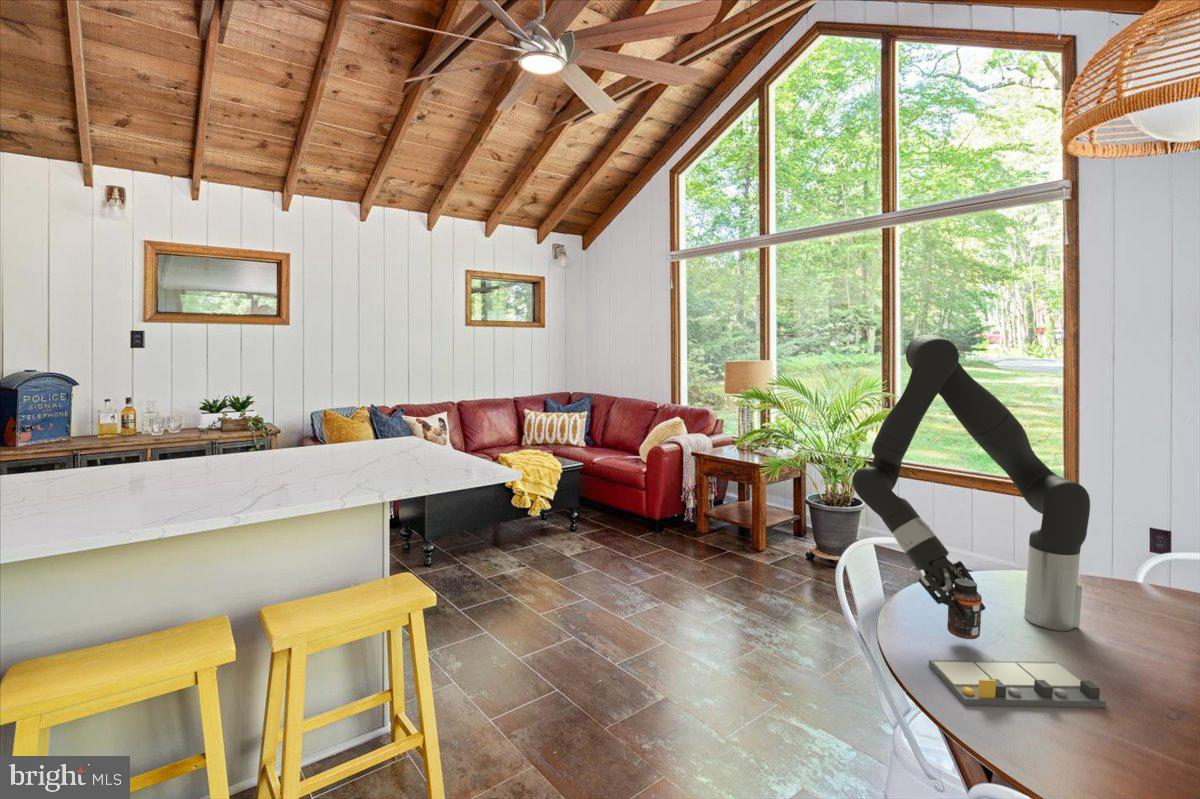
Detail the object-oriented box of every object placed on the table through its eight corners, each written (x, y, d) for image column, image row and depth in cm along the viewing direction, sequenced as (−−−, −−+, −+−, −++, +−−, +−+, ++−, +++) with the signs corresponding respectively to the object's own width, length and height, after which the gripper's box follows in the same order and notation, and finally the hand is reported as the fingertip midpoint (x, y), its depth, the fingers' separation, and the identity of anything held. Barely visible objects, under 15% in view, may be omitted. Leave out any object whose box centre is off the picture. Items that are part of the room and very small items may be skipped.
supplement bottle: (984, 642, 125) (987, 588, 124) (952, 639, 126) (955, 587, 125) (973, 628, 131) (976, 577, 130) (942, 625, 132) (945, 575, 131)
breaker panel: (1054, 667, 120) (1055, 646, 119) (1105, 707, 107) (1107, 684, 106) (928, 665, 121) (929, 644, 120) (965, 705, 108) (966, 681, 107)
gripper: (913, 541, 129) (969, 616, 120) (949, 528, 136) (1005, 598, 128) (888, 558, 134) (940, 631, 125) (925, 545, 142) (977, 613, 133)
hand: (973, 614), depth 127 cm, fingers closed on supplement bottle, 6 cm apart
